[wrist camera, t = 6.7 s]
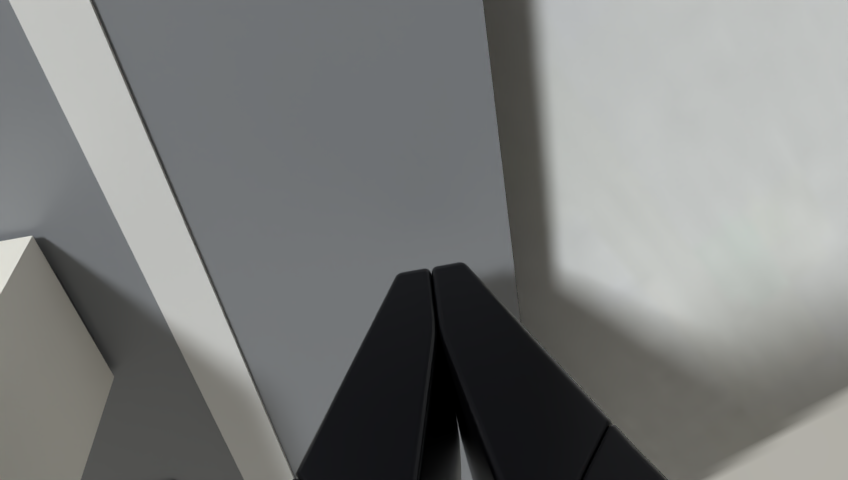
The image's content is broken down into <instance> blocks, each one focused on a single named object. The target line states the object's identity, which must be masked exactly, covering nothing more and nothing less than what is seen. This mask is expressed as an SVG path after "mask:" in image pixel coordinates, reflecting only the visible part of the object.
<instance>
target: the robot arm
mask: <svg viewBox="0 0 848 480" xmlns="http://www.w3.org/2000/svg"><path fill="white" fill-rule="evenodd" d="M457 421H458V422H457ZM458 426H459V430H458ZM459 431H460V436H461V440H462V444H463V448H464V452H465V456H466V459H467V463H468V466H469V469H470V473H471V476H472V479H473V480H668V479H667V478H666V477H665V476H664V475H663V474H662V473H661V472H660V471H659V470H658V469H657V468H656V467H655V466H654V465H653V464H652V463H651V462H650V461H649V460H648V459H647V458H646V457H645V456H644V455H643V454H642V453H641V452H640V451H639V450H638V449H637V448H636V447H635V446H634V445H633V444H632V443H631V442H630V440H629V439H628V438H627V437H626V436H625V435H624V434H623V433H622V432H621V431H620V430H619V429H618V427H617V426H615V425H612V423H611V420H610V419H609V418H608V417H607V416H606V415H605V414H604V413H603V412H602V411H601V409H600V408H599V407H598V406H597V405H596V404H595V403H594V402H593V401H592V400H591V399H590V398H589V397H588V395H587V394H586V393H585V392H584V391H583V390H582V389H581V388H580V387H579V386H578V385H577V384H576V382H575V381H574V380H573V379H572V378H571V377H570V376H569V375H568V374H567V373H566V372H565V371H564V369H563V368H562V367H561V366H560V365H559V364H558V363H557V362H556V361H555V360H554V359H553V358H552V356H551V355H550V354H549V353H548V352H547V351H546V350H545V349H544V348H543V347H542V346H541V345H540V343H539V342H538V341H537V340H536V339H535V338H534V337H533V336H532V335H531V334H530V333H529V332H528V331H527V329H526V328H525V327H524V326H523V325H522V324H521V323H520V322H519V321H518V320H517V319H516V318H515V316H514V315H513V314H512V313H511V312H510V311H509V310H508V309H507V308H506V307H505V306H504V305H503V303H502V302H501V301H500V300H499V299H498V298H497V297H496V296H495V295H494V294H493V293H492V292H491V290H490V289H489V288H488V287H487V286H486V285H485V284H484V283H483V282H482V281H481V280H480V279H479V277H478V276H477V275H476V274H475V273H474V272H473V271H472V270H471V269H470V268H469V267H468V266H467V265H466V264H465V263H463V262H457V263H452V264H446V265H440V266H436V267H434V268H433V269H432V274H431V271H430V270H429V269H426V268H423V269H418V270H412V271H406V272H401V273H399V274H398V275H397V276H396V277H395V279H394V281H393V283H392V285H391V287H390V289H389V291H388V293H387V294H386V296H385V298H384V300H383V302H382V304H381V306H380V308H379V310H378V312H377V314H376V316H375V318H374V320H373V322H372V324H371V326H370V328H369V330H368V332H367V334H366V336H365V338H364V340H363V342H362V344H361V346H360V348H359V350H358V352H357V354H356V355H355V357H354V359H353V361H352V363H351V365H350V367H349V369H348V371H347V373H346V375H345V377H344V379H343V381H342V383H341V385H340V387H339V389H338V391H337V393H336V395H335V397H334V399H333V401H332V403H331V405H330V407H329V409H328V411H327V413H326V414H325V416H324V418H323V420H322V422H321V424H320V426H319V428H318V430H317V432H316V434H315V436H314V438H313V440H312V442H311V444H310V446H309V448H308V450H307V452H306V454H305V456H304V458H303V460H302V462H301V464H300V466H299V468H298V470H297V472H296V474H295V476H296V478H295V479H293V480H461V453H460V438H459Z"/></svg>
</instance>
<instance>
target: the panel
mask: <svg viewBox="0 0 848 480" xmlns="http://www.w3.org/2000/svg"><path fill="white" fill-rule="evenodd" d="M27 236H33V237H34V239H35V241H36V242H37V244H38V246H39V248H40V249H41V251H42V253H43V255H44V256H45V258H46V260H47V261H48V263H49V265H50V267H51V268H52V270H53V272H54V274H55V275H56V277H57V279H58V280H59V282H60V284H61V286H62V287H63V289H64V291H65V293H66V294H67V296H68V298H69V299H70V301H71V303H72V305H73V306H74V308H75V310H76V312H77V313H78V315H79V317H80V318H81V320H82V322H83V324H84V325H85V327H86V329H87V331H88V332H89V334H90V336H91V337H92V339H93V341H94V343H95V344H96V346H97V348H98V350H99V351H100V353H101V355H102V356H103V358H104V360H105V362H106V363H107V365H108V367H109V369H110V370H111V372H112V374H113V375H114V379H113V382H112V385H111V388H110V391H109V395H108V398H107V401H106V404H105V407H104V410H103V413H102V416H101V419H100V422H99V425H98V428H97V431H96V434H95V438H94V441H93V444H92V447H91V450H90V453H89V456H88V459H87V462H86V465H85V468H84V471H83V474H82V478H81V480H293V479H295V478H296V476H295V474H296V472H297V470H298V468H299V466H300V464H301V462H302V460H303V458H304V456H305V454H306V452H307V450H308V448H309V446H310V444H311V442H312V440H313V438H314V436H315V434H316V432H317V430H318V428H319V426H320V424H321V422H322V420H323V418H324V416H325V414H326V413H327V411H328V409H329V407H330V405H331V403H332V401H333V399H334V397H335V395H336V393H337V391H338V389H339V387H340V385H341V383H342V381H343V379H344V377H345V375H346V373H347V371H348V369H349V367H350V365H351V363H352V361H353V359H354V357H355V355H356V354H357V352H358V350H359V348H360V346H361V344H362V342H363V340H364V338H365V336H366V334H367V332H368V330H369V328H370V326H371V324H372V322H373V320H374V318H375V316H376V314H377V312H378V310H379V308H380V306H381V304H382V302H383V300H384V298H385V296H386V294H387V293H388V291H389V289H390V287H391V285H392V283H393V281H394V279H395V277H396V276H397V275H398V274H399V273H401V272H406V271H412V270H418V269H423V268H426V269H429V270H430V271H431V274H432V269H433V268H434V267H436V266H440V265H446V264H452V263H457V262H463V263H465V264H466V265H467V266H468V267H469V268H470V269H471V270H472V271H473V272H474V273H475V274H476V275H477V276H478V277H479V279H480V280H481V281H482V282H483V283H484V284H485V285H486V286H487V287H488V288H489V289H490V290H491V292H492V293H493V294H494V295H495V296H496V297H497V298H498V299H499V300H500V301H501V302H502V303H503V305H504V306H505V307H506V308H507V309H508V310H509V311H510V312H511V313H512V314H513V315H514V316H515V318H516V319H517V320H518V321H519V322H520V323H521V320H520V312H519V303H518V295H517V286H516V278H515V269H514V261H513V252H512V244H511V235H510V227H509V219H508V210H507V202H506V193H505V185H504V176H503V168H502V159H501V151H500V142H499V134H498V125H497V117H496V108H495V100H494V92H493V83H492V75H491V66H490V58H489V49H488V41H487V32H486V24H485V15H484V7H483V0H0V241H5V240H10V239H16V238H21V237H27ZM457 422H458V421H457ZM458 430H459V426H458ZM459 438H460V453H461V480H473V479H472V476H471V473H470V469H469V466H468V463H467V459H466V456H465V452H464V448H463V444H462V440H461V436H460V431H459Z"/></svg>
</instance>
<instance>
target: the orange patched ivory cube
mask: <svg viewBox="0 0 848 480" xmlns="http://www.w3.org/2000/svg"><path fill="white" fill-rule="evenodd" d="M113 379H114V375H113V374H112V372H111V370H110V369H109V367H108V365H107V363H106V362H105V360H104V358H103V356H102V355H101V353H100V351H99V350H98V348H97V346H96V344H95V343H94V341H93V339H92V337H91V336H90V334H89V332H88V331H87V329H86V327H85V325H84V324H83V322H82V320H81V318H80V317H79V315H78V313H77V312H76V310H75V308H74V306H73V305H72V303H71V301H70V299H69V298H68V296H67V294H66V293H65V291H64V289H63V287H62V286H61V284H60V282H59V280H58V279H57V277H56V275H55V274H54V272H53V270H52V268H51V267H50V265H49V263H48V261H47V260H46V258H45V256H44V255H43V253H42V251H41V249H40V248H39V246H38V244H37V242H36V241H35V239H34V237H33V236H27V237H21V238H16V239H10V240H5V241H0V480H81V478H82V474H83V471H84V468H85V465H86V462H87V459H88V456H89V453H90V450H91V447H92V444H93V441H94V438H95V434H96V431H97V428H98V425H99V422H100V419H101V416H102V413H103V410H104V407H105V404H106V401H107V398H108V395H109V391H110V388H111V385H112V382H113Z"/></svg>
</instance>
